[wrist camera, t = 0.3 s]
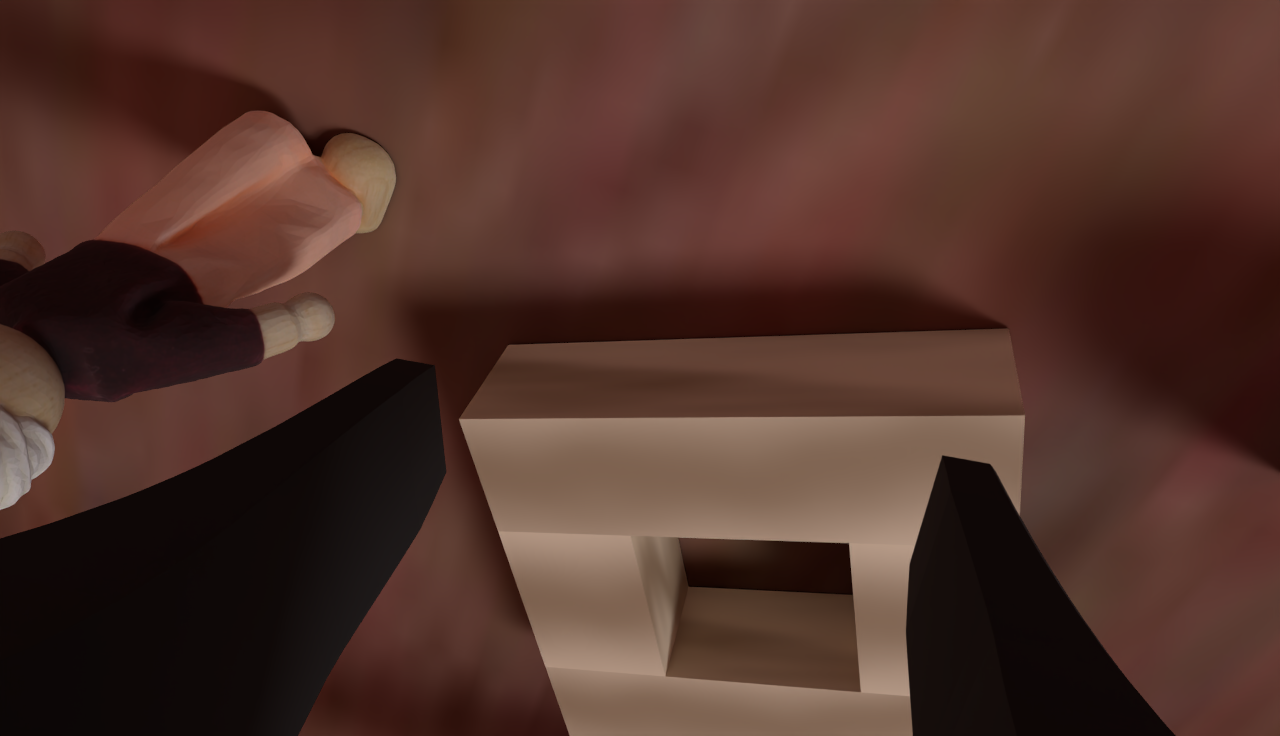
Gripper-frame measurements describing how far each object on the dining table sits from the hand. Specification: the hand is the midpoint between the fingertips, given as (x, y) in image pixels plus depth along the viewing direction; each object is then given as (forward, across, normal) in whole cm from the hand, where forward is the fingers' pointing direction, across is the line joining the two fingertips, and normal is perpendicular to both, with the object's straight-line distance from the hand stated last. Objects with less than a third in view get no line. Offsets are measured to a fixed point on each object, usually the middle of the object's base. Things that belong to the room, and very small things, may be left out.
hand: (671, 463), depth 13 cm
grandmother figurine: (+10, +12, +1) cm, 16 cm away
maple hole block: (+10, -1, +10) cm, 15 cm away
